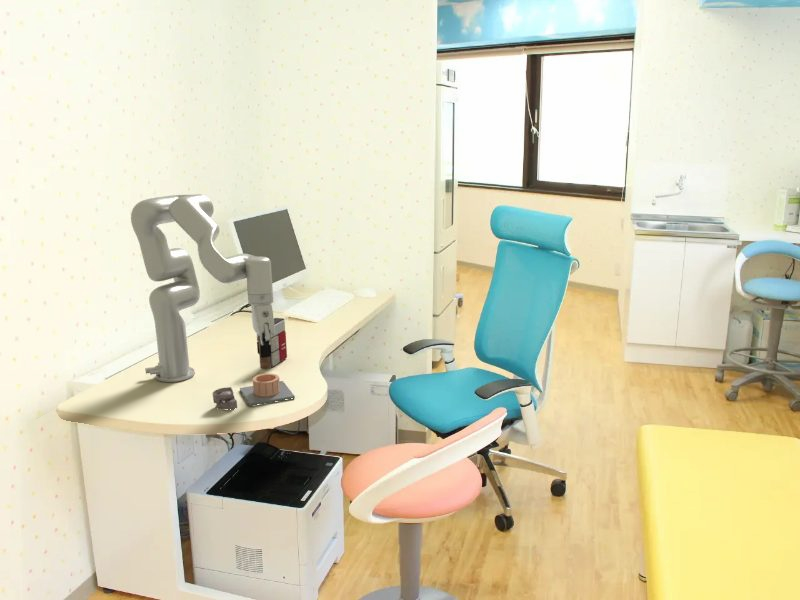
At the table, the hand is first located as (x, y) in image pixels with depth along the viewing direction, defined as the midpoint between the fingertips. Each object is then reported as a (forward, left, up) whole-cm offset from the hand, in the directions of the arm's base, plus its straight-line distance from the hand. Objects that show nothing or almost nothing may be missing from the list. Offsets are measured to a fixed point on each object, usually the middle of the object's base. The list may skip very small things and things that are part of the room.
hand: (264, 354), depth 219 cm
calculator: (+10, +28, -14) cm, 33 cm away
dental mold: (-14, -3, -14) cm, 20 cm away
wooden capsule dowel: (0, 0, -4) cm, 4 cm away
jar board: (0, 0, -13) cm, 13 cm away
